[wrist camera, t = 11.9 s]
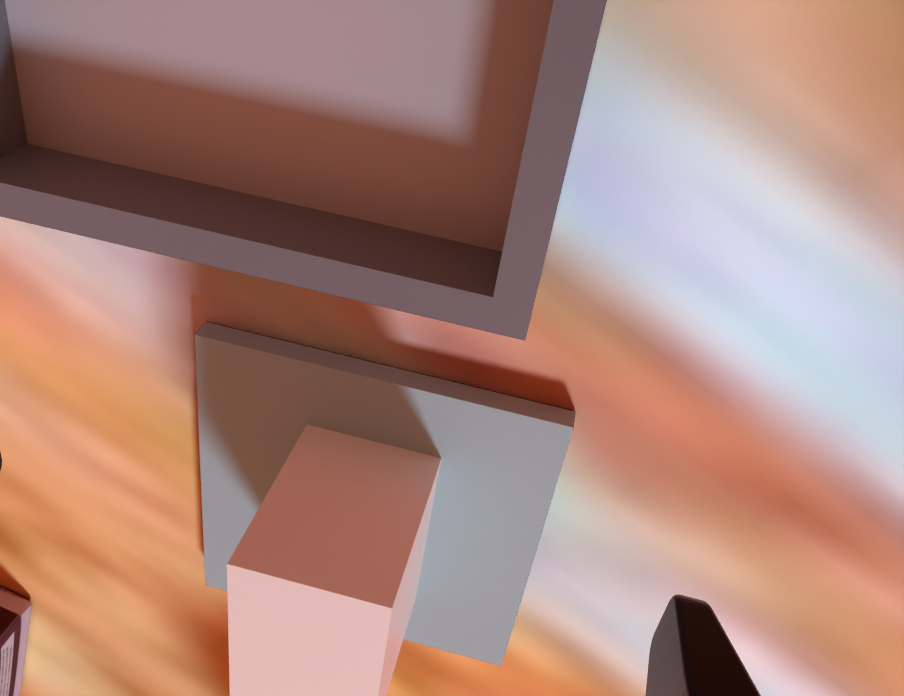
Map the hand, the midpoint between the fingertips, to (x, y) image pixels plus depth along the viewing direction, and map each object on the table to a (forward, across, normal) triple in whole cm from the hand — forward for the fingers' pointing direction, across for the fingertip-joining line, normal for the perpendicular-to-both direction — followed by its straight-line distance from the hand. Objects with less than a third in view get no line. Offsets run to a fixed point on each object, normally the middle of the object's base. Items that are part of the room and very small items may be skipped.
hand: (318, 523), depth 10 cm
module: (+12, +2, +13) cm, 18 cm away
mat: (+13, +2, +13) cm, 18 cm away
